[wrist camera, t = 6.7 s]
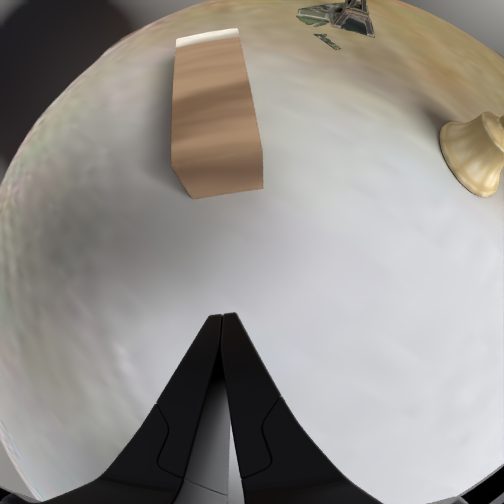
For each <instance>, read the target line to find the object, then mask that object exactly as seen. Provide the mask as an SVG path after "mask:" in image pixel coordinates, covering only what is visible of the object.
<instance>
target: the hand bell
mask: <svg viewBox="0 0 504 504" xmlns="http://www.w3.org/2000/svg"><path fill="white" fill-rule="evenodd" d="M440 145H441V150H442V153H443V156H444V158H445V160H446V162H447V164H448V166H449V167H450V169H451V171H452V172H453V173H454V175H455V176H456V177H457V179H458V180H459V181H460V182H461V183H462V184H463V185H464V186H465V187H466V188H467V189H468V190H469V191H471V192H472V193H474V194H476V195H478V196H480V197H489V196H491V195H493V194H494V193H495V191H496V189H497V187H498V184H499V174H500V171H501V169H502V167H503V166H504V115H503V116H502V117H501V118H499V117H498V116H497V115H495V114H494V113H492V112H484V113H482V114H481V115H480V116H478V117H477V118H476V119H474V120H472V121H470V122H467V123H461V122H455V121H454V122H449V123H446V124H445V125H444V126H443V127H442V128H441V131H440Z"/></svg>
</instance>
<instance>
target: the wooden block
mask: <svg viewBox="0 0 504 504" xmlns="http://www.w3.org/2000/svg"><path fill="white" fill-rule="evenodd" d="M171 167H172V169H173V170H174V172H175V174H176V175H177V177H178V178H179V180H180V181H181V183H182V184H183V186H184V187H185V189H186V190H187V192H188V193H189V195H190V196H191V198H192V199H198V198H204V197H210V196H216V195H223V194H229V193H236V192H243V191H250V190H257V189H263V151H262V146H261V140H260V135H259V130H258V124H257V119H256V114H255V109H254V104H253V99H252V94H251V89H250V84H249V79H248V74H247V69H246V65H245V60H244V55H243V51H242V46H241V41H240V37H239V32H238V28H235V29H227V30H220V31H214V32H208V33H202V34H197V35H192V36H188V37H183V38H179V39H177V41H176V51H175V63H174V77H173V95H172V123H171Z"/></svg>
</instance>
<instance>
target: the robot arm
mask: <svg viewBox="0 0 504 504" xmlns="http://www.w3.org/2000/svg"><path fill="white" fill-rule="evenodd" d="M230 420H231V426H232V432H233V438H234V444H235V450H236V456H237V461H238V466H239V472H240V477H241V479H242V480H241V482H242V488H243V494H244V503H245V504H383V503H382V502H380V501H379V500H377V499H376V498H374V497H373V496H371V495H370V494H368V493H367V492H365V491H364V490H362V489H361V488H359V487H358V486H357V485H355V484H354V483H353V482H351V481H350V480H349V479H348V478H347V477H346V476H345V475H344V474H342V473H341V472H340V471H339V470H338V468H337V467H336V466H335V465H334V464H333V463H332V462H331V461H330V460H329V459H328V458H327V456H326V455H325V454H324V453H323V452H322V451H321V450H320V448H319V447H318V446H317V445H316V444H315V443H314V441H313V440H312V439H311V438H310V437H309V436H308V434H307V433H306V432H305V430H304V429H303V428H302V427H301V425H300V424H299V423H298V421H297V420H296V418H295V417H294V415H293V413H292V412H291V410H290V409H289V407H288V406H287V404H286V402H285V400H284V399H283V397H281V394H280V392H279V390H278V388H277V387H276V385H275V383H274V381H273V379H272V378H271V376H270V374H269V372H268V370H267V369H266V367H265V365H264V363H263V361H262V360H261V358H260V356H259V354H258V352H257V350H256V349H255V347H254V345H253V343H252V341H251V339H250V337H249V336H248V334H247V332H246V330H245V328H244V326H243V324H242V322H241V320H240V319H239V317H238V315H237V313H235V312H233V313H225V314H223V315H222V314H216V315H210V316H209V317H208V318H207V320H206V321H205V323H204V325H203V326H202V328H201V329H200V331H199V333H198V334H197V336H196V338H195V339H194V341H193V343H192V344H191V346H190V347H189V349H188V351H187V352H186V354H185V356H184V357H183V359H182V361H181V362H180V364H179V365H178V367H177V369H176V370H175V372H174V374H173V375H172V377H171V379H170V380H169V382H168V384H167V385H166V387H165V389H164V390H163V392H162V393H161V395H160V397H159V398H158V400H157V404H155V405H154V406H153V408H152V410H151V411H150V413H149V415H148V416H147V418H146V419H145V421H144V422H143V424H142V425H141V427H140V428H139V430H138V431H137V432H136V434H135V435H134V436H133V438H132V439H131V440H130V442H129V443H128V444H127V445H126V447H125V448H124V449H123V450H122V452H121V453H120V454H119V455H118V457H117V458H116V459H115V460H114V462H113V463H112V464H111V465H110V466H109V468H108V469H107V470H106V471H105V472H104V473H103V474H102V475H101V476H99V477H98V478H97V479H95V480H94V481H92V482H90V483H88V484H86V485H83V486H81V487H79V488H77V489H74V490H72V491H70V492H67V493H65V494H62V495H60V496H57V497H55V498H52V499H49V500H47V501H43V502H41V501H38V500H35V499H33V498H30V497H28V496H25V495H22V494H20V493H16V492H12V491H10V490H8V489H6V488H4V487H2V486H0V504H228V496H227V495H228V472H229V444H230ZM428 504H504V464H503V465H501V466H500V467H499V468H497V469H496V470H495V471H493V472H492V473H491V474H489V475H488V476H487V477H485V478H484V479H483V480H481V481H480V482H478V483H477V484H475V485H474V486H472V487H471V488H469V489H468V490H466V491H465V492H463V493H462V494H460V495H458V496H457V497H451V498H448V499H444V500H440V501H437V502H433V503H428Z"/></svg>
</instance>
